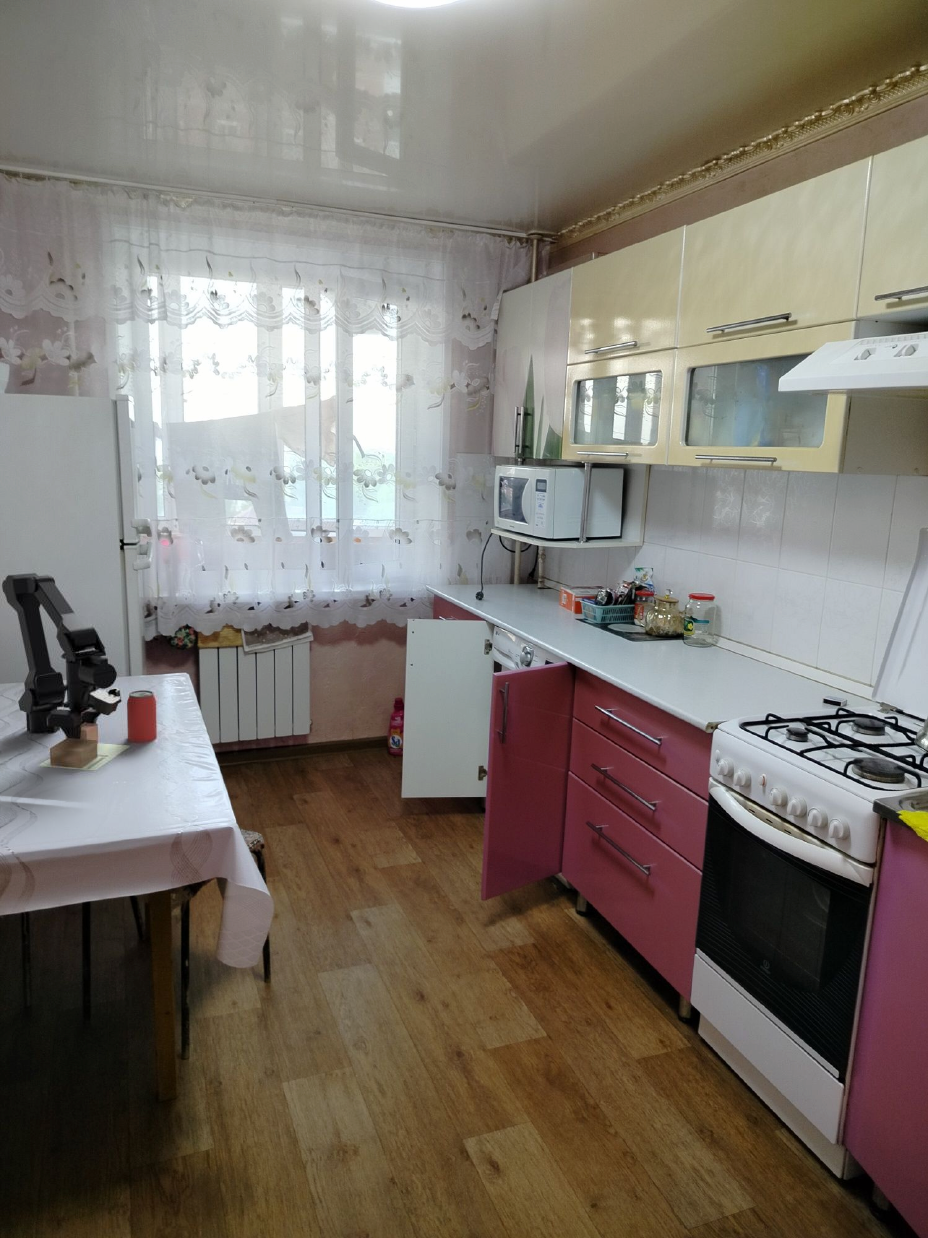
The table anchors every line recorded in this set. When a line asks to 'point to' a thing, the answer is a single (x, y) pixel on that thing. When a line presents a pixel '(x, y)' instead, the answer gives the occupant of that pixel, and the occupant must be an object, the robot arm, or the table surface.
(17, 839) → the table surface
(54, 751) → the base block
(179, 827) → the table surface
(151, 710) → the beer can
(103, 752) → the cream mat
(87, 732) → the cube
